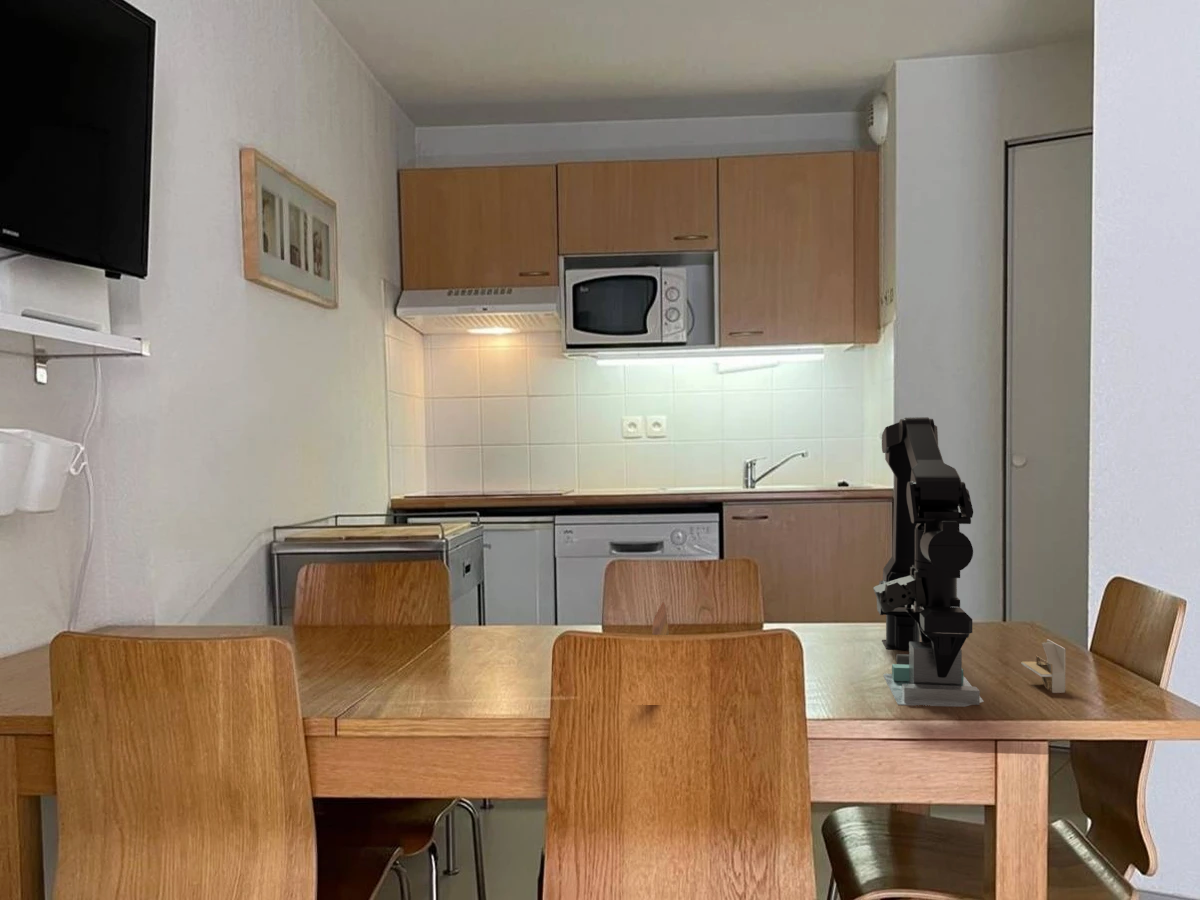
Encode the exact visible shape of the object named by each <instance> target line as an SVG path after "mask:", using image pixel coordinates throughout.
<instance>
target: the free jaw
mask: <svg viewBox="0 0 1200 900" xmlns="http://www.w3.org/2000/svg"><path fill="white" fill-rule="evenodd" d="M895 659H896V660H895V661H896V663H892V664H891V674H892V678H893V680H894V681H909V654H904V653H903V654H902V653H900V654H899V653H896V658H895ZM963 677H964V669H963V668H962V683H963Z"/></svg>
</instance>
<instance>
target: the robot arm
mask: <svg viewBox="0 0 1200 900" xmlns="http://www.w3.org/2000/svg"><path fill="white" fill-rule="evenodd" d="M938 433H939V431H938V426H937V425H936V424H935V421H934V418H930V417H928V416H927V417H922V416H921V417H918V416H917V417H916V416H915V417H904V418H901V419H899V421H898V422H896V423H893V424H891V425H887V426H886V427H884V429H883V432H882V434H881V450H882V453H883V454H885V455H884V459H885V461H886V464H887V465H888V467H889V469H890V470H891V472H892V473H893V475H894V479H893V480H894V481H893V482H894V483H893V518H892V520H893V523H892V524H893V525H892V526H893V527H892V528H893V529H892V556H891V557H890V558H889V560H888V562H887V563H886V564H885V566H883V568H882V569H883V570H882V580H879V582H878V584H877V585H875V586H873V588H872V589H873V592H874V595H875V597H876V610H877V613H878V614H879V615H880V616H884V615H885V639H882V640H881V642H882V644H883V646H884V648H885V649H886V650H889V651H909V641H910V642H932V648H933V654H934V659H935V665H936V670H937V675H938V677H940V678H945V677H947V675H948V673H949V671H950V669H951V667H952V665H953V663H954V661H955V659H956V657H957V655H958V653H959V651H960V649H961V650H962V648H963V646H964V644H965V642H966V640H967V639H968V638H969V637H970V634H973V618H972V617H971V616H969V614H967V612H966V611H964V610H963V609H962V608H961V599H960V598H959V597H958V579H960V578H961V571H962V570H964V569H965V568H967V567H968V566H969V564H971V561H972V559H973V556H974V548H973V544H972V542H971V541H970V539H969V538H968V536H967V535H965V534H964V533H962V531H960V525H971V524H972V519H973V516H974V509H973V505H972V500H971V497H970V495H971V494H970V491H969V489H968V488H967V487H966V483H965V482H964V481H962V478H961V477H960V475H959V473H958V471H957V470H956V468H955V467H953V466H950V464H947V463H945V461H944V459H943V456H942V454H941V450H940V447H939V437H938V436H939V435H938ZM959 510H960V511H959Z"/></svg>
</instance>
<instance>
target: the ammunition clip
mask: <svg viewBox="0 0 1200 900" xmlns="http://www.w3.org/2000/svg"><path fill="white" fill-rule="evenodd" d="M669 633H670V632H669V626H668V612H667V608H666V605H665V602H662V603H661V604H660V607H659V608H658V609H657V611H656V613H655V615H654V618H653V622H652V633H651V636H652V635H669ZM669 636H670V635H669Z"/></svg>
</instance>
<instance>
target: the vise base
mask: <svg viewBox="0 0 1200 900" xmlns="http://www.w3.org/2000/svg"><path fill="white" fill-rule="evenodd" d="M882 675H883V679H884V681H885V682H886V685H887V687H888V688H889V690H890V692H891V694H892V696H893V698H894V700H895V702H896V704H897V705H898V706H916V705H918V706H919V705H923V707H925V706H926V707H955V708H957V707H959V708H960V707H963V708H964V707H965V708H966V707H969V706H980V703H984V702H985V701H984V700H983V698H982V697H981V696H980V689H979V688H978V687H977V686H972V685H971V683H970V682H969V681H968V679H967V678H966V677H965V676H963V683H962V686H948V685H923V684H909V681H894V680H893V678H892V673H883V674H882ZM924 705H925V706H924ZM927 705H928V706H927ZM929 705H930V706H929ZM918 706H917V707H918Z"/></svg>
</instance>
